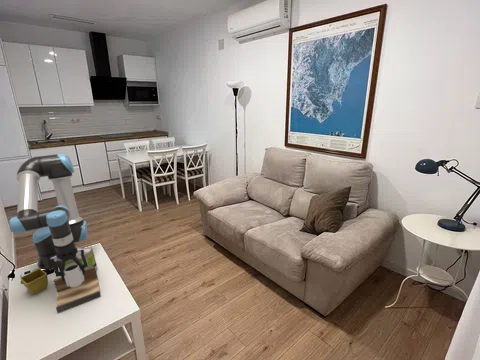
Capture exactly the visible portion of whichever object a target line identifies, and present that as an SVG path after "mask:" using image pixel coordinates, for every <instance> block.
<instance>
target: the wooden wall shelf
mask: <svg viewBox="0 0 480 360" xmlns="http://www.w3.org/2000/svg"><path fill="white" fill-rule="evenodd" d="M83 275H84V281H83V282H82V283H81V284H80V285H79V286H77V287H70V286H68V287H67V284H66V281H62V277H61V276H59V277H56V278H54V279H53V283H54V286H55V289H56V292H57V296H56V306H55V311H56V313H57V314H59V313H63V312H65V311H67V310H71V309H73V308H75V307H79V305H84V304H86V303H88V302H90V301H94V300H96V299H98V298H101V296H102V295H101V288H100V281H99V278H98V274H97V271H96V269H95V266H94V267H91V268H88V269H85V274H83Z"/></svg>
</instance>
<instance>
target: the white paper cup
mask: <svg viewBox="0 0 480 360" xmlns="http://www.w3.org/2000/svg"><path fill="white" fill-rule="evenodd" d="M64 273H65V276H66V278H67V281H68V283H69V286H70V287H77V286H79V285H80V284H81V283H82V282H83V281H82V277H81V273H80V267H79V265H77V264H76V263H75V262H73V263H70V264H68V265H66V266H65V269H64Z"/></svg>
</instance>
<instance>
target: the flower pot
mask: <svg viewBox="0 0 480 360" xmlns="http://www.w3.org/2000/svg"><path fill="white" fill-rule="evenodd" d="M19 279H20V281H21V283H22V284H23V286H24V287H25V288H26V289H27V290H28V291H29V292H30V293H32V294H33V295H37V294H38V293H40V292H42V291H44V290H45V289H47V287H48V285H49V280H48V279H49V278H48V274H47V272H46V271H43V270H41V269H40V268H37V269H35V270H33V271H32V272H29V273H27V274H24V275H23V276H21V277H20V278H19Z"/></svg>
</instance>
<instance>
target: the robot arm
mask: <svg viewBox="0 0 480 360" xmlns="http://www.w3.org/2000/svg"><path fill="white" fill-rule="evenodd" d="M73 173H75V169H74V165H73V163H72V160H71V158H70V156H69V155H68V154H66V153H59V154H58V153H56V154H49V155H40V156H33V157H31V158H29V159H27V160H26V161H24V162H23V163H22V164H21V165H20V166H19V167H18V170H17V173H16V180H17V181H18V194H17V195H18V197H17V209H16V210H17V212H16V216H14V217H13V216H12V217H11V218H10V219H9V221H8V222H9V227H10V228H9V229H10V230H11V232H12V233H13V234H20V233H26V232H28V231H33V230H36V231H35V232H33V234H32V243H33V244H34V246H35V249H36V252H37V255H38V259H37V269H39V268H40V269H50V268H53V269H54V270H53V271H54V274H55V277H56V278H59V277H62V281H66V284H67V287H68V286H69V283H68V281H67V278H66V276H65V273H64V269H65V261H68V260H71V259H73V261H75V263H76V264H77V265H79V267H80V273H81V277H82V281H84V275H83V274H85V269H84V268H85V267H87V266H88V264H87V261H86V258H85V255H84V248H85V247H80V248H81V249H77V248H78V247H76V244H75V243H80V242H83V241H86V240H87V239H88V224H87V221H86V220H84V219H83V217H81V216H80V214H79V210H78V205H77V202H76V198H75V193H74V188H73V185H72V182H71V178H72V177H73ZM45 177H47V178H48V179H47V180H49V181H51V183H52V186H53V190H54V193H55V198H56V201H57V204H58V205H57V206H55V207H53V208H52V209H49V210H48V209H47V210H44V211H39V195H38V194H39V190H38V189H39V186H38V183H39V182H40V180H41V178H45ZM77 252H79V254H81V257H82V260H83V263H84V264H82V263H81V262H80V260H79V259H78V258H77V257H76V254H77ZM57 258H59V259H61V260H62V267H61V272H60V271H59V268H58V264H57Z"/></svg>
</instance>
